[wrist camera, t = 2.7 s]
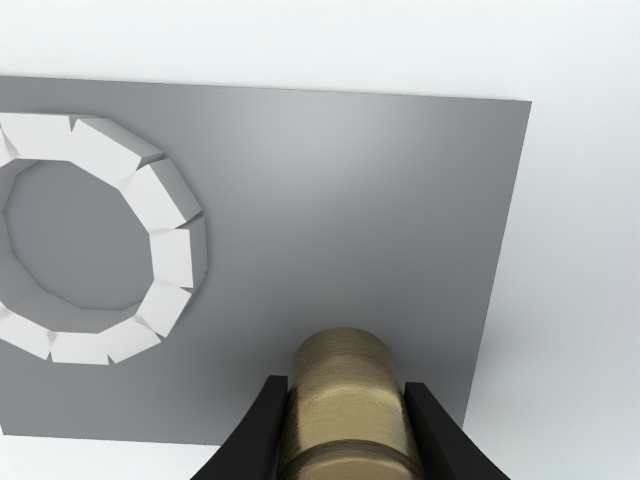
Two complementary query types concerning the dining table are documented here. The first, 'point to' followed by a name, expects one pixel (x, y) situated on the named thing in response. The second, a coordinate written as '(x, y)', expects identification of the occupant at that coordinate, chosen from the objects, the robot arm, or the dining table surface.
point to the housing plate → (235, 245)
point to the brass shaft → (346, 412)
